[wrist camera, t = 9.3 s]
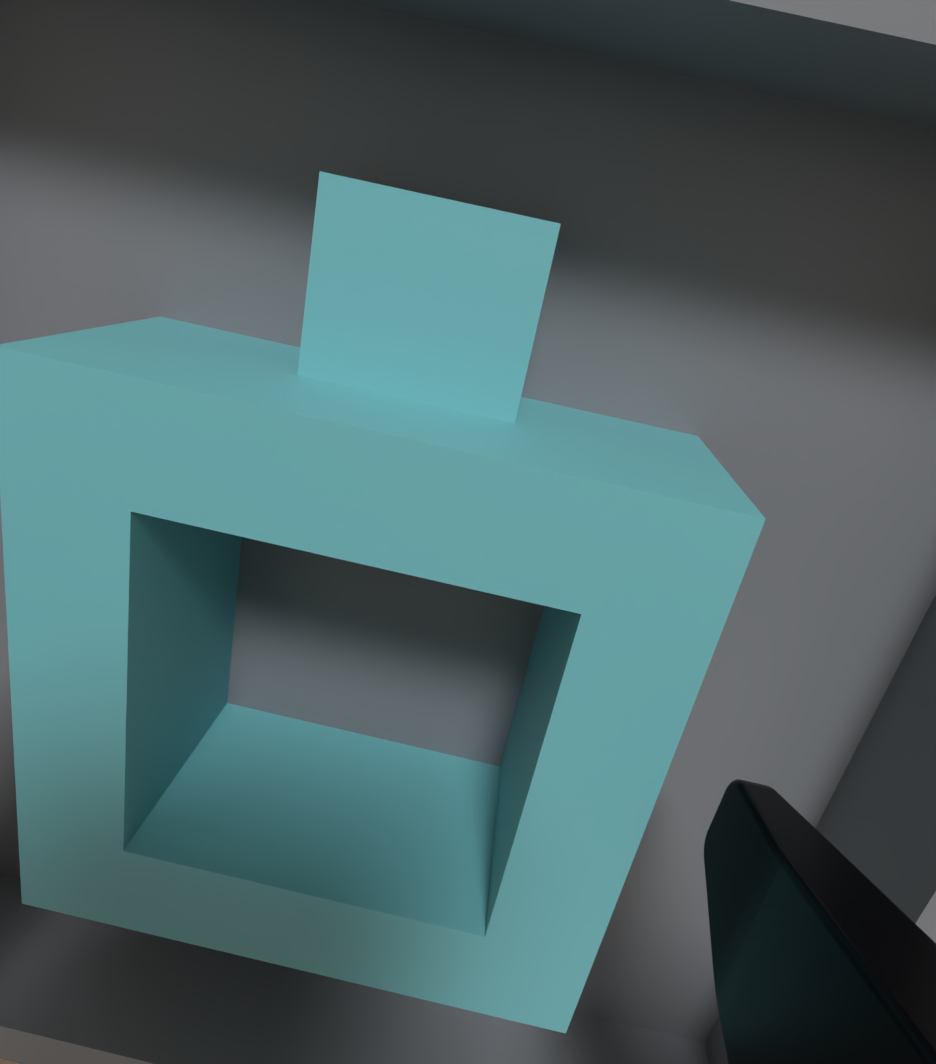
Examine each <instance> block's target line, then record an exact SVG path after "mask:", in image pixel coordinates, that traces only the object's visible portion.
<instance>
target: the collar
mask: <svg viewBox="0 0 936 1064" xmlns="http://www.w3.org/2000/svg"><path fill="white" fill-rule="evenodd" d="M560 225H561V224H560V223H555V222H551V221H546V220H542V219H537V218H532V217H528V216H523V215H519V214H514V213H509V212H505V211H500V210H496V209H491V208H486V207H482V206H477V205H473V204H468V203H463V202H459V201H454V200H450V199H445V198H440V197H436V196H431V195H427V194H422V193H417V192H413V191H408V190H404V189H399V188H394V187H390V186H385V185H381V184H376V183H372V182H367V181H362V180H358V179H353V178H349V177H344V176H339V175H335V174H330V173H326V172H321V171H320V172H319V181H318V190H317V199H316V208H315V217H314V227H313V236H312V245H311V254H310V263H309V272H308V282H307V291H306V300H305V309H304V318H303V327H302V337H301V346H300V347H295V346H291V345H286V344H282V343H277V342H273V341H268V340H264V339H259V338H255V337H250V336H246V335H241V334H237V333H232V332H228V331H223V330H219V329H214V328H210V327H205V326H201V325H196V324H192V323H187V322H183V321H178V320H174V319H169V318H165V317H154V318H148V319H143V320H137V321H131V322H125V323H120V324H114V325H108V326H102V327H97V328H91V329H85V330H79V331H74V332H68V333H62V334H56V335H50V336H45V337H39V338H33V339H27V340H22V341H16V342H10V343H4V344H0V499H1V518H2V537H3V556H4V575H5V594H6V613H7V632H8V651H9V670H10V689H11V708H12V727H13V746H14V765H15V784H16V803H17V822H18V841H19V860H20V879H21V898H22V904H26V905H30V906H34V907H39V908H43V909H47V910H51V911H55V912H60V913H64V914H68V915H72V916H76V917H80V918H85V919H89V920H93V921H97V922H101V923H106V924H110V925H114V926H118V927H122V928H126V929H131V930H135V931H139V932H143V933H147V934H152V935H156V936H160V937H164V938H168V939H172V940H177V941H181V942H185V943H189V944H193V945H198V946H202V947H206V948H210V949H214V950H218V951H223V952H227V953H231V954H235V955H239V956H244V957H248V958H252V959H256V960H260V961H264V962H269V963H273V964H277V965H281V966H285V967H290V968H294V969H298V970H302V971H306V972H310V973H315V974H319V975H323V976H327V977H331V978H336V979H340V980H344V981H348V982H352V983H356V984H361V985H365V986H369V987H373V988H377V989H382V990H386V991H390V992H394V993H398V994H402V995H407V996H411V997H415V998H419V999H423V1000H428V1001H432V1002H436V1003H440V1004H444V1005H448V1006H453V1007H457V1008H461V1009H465V1010H469V1011H474V1012H478V1013H482V1014H486V1015H490V1016H494V1017H499V1018H503V1019H507V1020H511V1021H515V1022H520V1023H524V1024H528V1025H532V1026H536V1027H540V1028H545V1029H549V1030H553V1031H557V1032H561V1033H566V1032H567V1029H568V1026H569V1024H570V1021H571V1019H572V1016H573V1014H574V1011H575V1008H576V1006H577V1003H578V1001H579V998H580V996H581V993H582V990H583V988H584V985H585V983H586V980H587V978H588V975H589V972H590V970H591V967H592V965H593V962H594V960H595V957H596V954H597V952H598V949H599V947H600V944H601V942H602V939H603V936H604V934H605V931H606V929H607V926H608V924H609V921H610V918H611V916H612V913H613V911H614V908H615V906H616V903H617V900H618V898H619V895H620V893H621V890H622V888H623V885H624V882H625V880H626V877H627V875H628V872H629V870H630V867H631V864H632V862H633V859H634V857H635V854H636V852H637V849H638V846H639V844H640V841H641V839H642V836H643V833H644V831H645V828H646V826H647V823H648V821H649V818H650V815H651V813H652V810H653V808H654V805H655V803H656V800H657V797H658V795H659V792H660V790H661V787H662V785H663V782H664V779H665V777H666V774H667V772H668V769H669V767H670V764H671V761H672V759H673V756H674V754H675V751H676V749H677V746H678V743H679V741H680V738H681V736H682V733H683V731H684V728H685V725H686V723H687V720H688V718H689V715H690V713H691V710H692V707H693V705H694V702H695V700H696V697H697V695H698V692H699V689H700V687H701V684H702V682H703V679H704V677H705V674H706V671H707V669H708V666H709V664H710V661H711V659H712V656H713V653H714V651H715V648H716V646H717V643H718V641H719V638H720V635H721V633H722V630H723V628H724V625H725V622H726V620H727V617H728V615H729V612H730V610H731V607H732V604H733V602H734V599H735V597H736V594H737V592H738V589H739V586H740V584H741V581H742V579H743V576H744V574H745V571H746V568H747V566H748V563H749V561H750V558H751V556H752V553H753V550H754V548H755V545H756V543H757V540H758V538H759V535H760V532H761V530H762V527H763V525H764V522H765V520H766V519H765V517H764V516H763V515H762V514H761V513H760V511H759V510H758V509H757V508H756V506H755V505H754V504H753V503H752V502H751V500H750V499H749V498H748V497H747V495H746V494H745V493H744V492H743V491H742V489H741V488H740V487H739V486H738V484H737V483H736V482H735V481H734V479H733V478H732V477H731V476H730V475H729V473H728V472H727V471H726V470H725V468H724V467H723V466H722V465H721V464H720V462H719V461H718V460H717V459H716V457H715V456H714V455H713V454H712V453H711V451H710V450H709V449H708V448H707V446H706V445H705V444H704V443H703V442H702V440H701V439H700V438H699V437H698V436H695V435H691V434H686V433H682V432H677V431H673V430H668V429H664V428H659V427H655V426H650V425H646V424H641V423H637V422H632V421H628V420H623V419H619V418H614V417H610V416H605V415H601V414H596V413H592V412H587V411H583V410H578V409H574V408H569V407H565V406H560V405H556V404H552V403H547V402H543V401H538V400H534V399H529V398H525V397H521V394H522V390H523V386H524V381H525V377H526V373H527V368H528V364H529V360H530V355H531V351H532V347H533V342H534V338H535V334H536V329H537V325H538V321H539V316H540V312H541V308H542V303H543V299H544V295H545V290H546V286H547V282H548V277H549V273H550V269H551V264H552V260H553V256H554V251H555V247H556V243H557V238H558V234H559V230H560ZM242 537H245V538H249V539H254V540H258V541H262V542H267V543H271V544H276V545H280V546H284V547H289V548H293V549H297V550H302V551H306V552H311V553H315V554H319V555H324V556H328V557H333V558H337V559H341V560H346V561H350V562H355V563H359V564H363V565H368V566H372V567H376V568H381V569H385V570H390V571H394V572H398V573H403V574H407V575H412V576H416V577H420V578H425V579H429V580H434V581H438V582H442V583H447V584H451V585H455V586H460V587H464V588H469V589H473V590H477V591H482V592H486V593H491V594H495V595H499V596H504V597H508V598H513V599H517V600H521V601H526V602H530V603H534V604H539V605H543V606H544V608H543V612H542V616H541V619H540V623H539V627H538V630H537V634H536V638H535V641H534V645H533V649H532V652H531V656H530V659H529V663H528V667H527V670H526V674H525V678H524V681H523V685H522V689H521V692H520V696H519V700H518V703H517V707H516V710H515V714H514V718H513V721H512V725H511V729H510V732H509V736H508V740H507V743H506V747H505V751H504V754H503V758H502V761H501V765H500V766H496V765H492V764H487V763H483V762H479V761H474V760H470V759H466V758H462V757H457V756H453V755H449V754H444V753H440V752H436V751H431V750H427V749H423V748H419V747H414V746H410V745H406V744H401V743H397V742H393V741H388V740H384V739H380V738H376V737H371V736H367V735H363V734H358V733H354V732H350V731H345V730H341V729H337V728H333V727H328V726H324V725H320V724H315V723H311V722H307V721H302V720H298V719H294V718H289V717H285V716H281V715H277V714H272V713H268V712H264V711H259V710H255V709H251V708H246V707H242V706H238V705H234V704H229V703H227V700H228V688H229V677H230V665H231V654H232V642H233V631H234V619H235V608H236V596H237V585H238V573H239V562H240V550H241V539H242Z"/></svg>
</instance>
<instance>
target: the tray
mask: <svg viewBox="0 0 936 1064" xmlns="http://www.w3.org/2000/svg"><path fill="white" fill-rule="evenodd" d="M320 171H321V172H326V173H330V174H335V175H339V176H344V177H349V178H353V179H358V180H362V181H367V182H372V183H376V184H381V185H385V186H390V187H394V188H399V189H404V190H408V191H413V192H417V193H422V194H427V195H431V196H436V197H440V198H445V199H450V200H454V201H459V202H463V203H468V204H473V205H477V206H482V207H486V208H491V209H496V210H500V211H505V212H509V213H514V214H519V215H523V216H528V217H532V218H537V219H542V220H546V221H551V222H555V223H560V224H561V225H560V230H559V234H558V238H557V243H556V247H555V251H554V256H553V260H552V264H551V269H550V273H549V277H548V282H547V286H546V290H545V295H544V299H543V303H542V308H541V312H540V316H539V321H538V325H537V329H536V334H535V338H534V342H533V347H532V351H531V355H530V360H529V364H528V368H527V373H526V377H525V381H524V386H523V390H522V394H521V397H525V398H529V399H534V400H538V401H543V402H547V403H552V404H556V405H560V406H565V407H569V408H574V409H578V410H583V411H587V412H592V413H596V414H601V415H605V416H610V417H614V418H619V419H623V420H628V421H632V422H637V423H641V424H646V425H650V426H655V427H659V428H664V429H668V430H673V431H677V432H682V433H686V434H691V435H695V436H698V437H699V438H700V439H701V440H702V442H703V443H704V444H705V445H706V446H707V448H708V449H709V450H710V451H711V453H712V454H713V455H714V456H715V457H716V459H717V460H718V461H719V462H720V464H721V465H722V466H723V467H724V468H725V470H726V471H727V472H728V473H729V475H730V476H731V477H732V478H733V479H734V481H735V482H736V483H737V484H738V486H739V487H740V488H741V489H742V491H743V492H744V493H745V494H746V495H747V497H748V498H749V499H750V500H751V502H752V503H753V504H754V505H755V506H756V508H757V509H758V510H759V511H760V513H761V514H762V515H763V516H764V517H765V519H766V520H765V522H764V525H763V527H762V530H761V532H760V535H759V538H758V540H757V543H756V545H755V548H754V550H753V553H752V556H751V558H750V561H749V563H748V566H747V568H746V571H745V574H744V576H743V579H742V581H741V584H740V586H739V589H738V592H737V594H736V597H735V599H734V602H733V604H732V607H731V610H730V612H729V615H728V617H727V620H726V622H725V625H724V628H723V630H722V633H721V635H720V638H719V641H718V643H717V646H716V648H715V651H714V653H713V656H712V659H711V661H710V664H709V666H708V669H707V671H706V674H705V677H704V679H703V682H702V684H701V687H700V689H699V692H698V695H697V697H696V700H695V702H694V705H693V707H692V710H691V713H690V715H689V718H688V720H687V723H686V725H685V728H684V731H683V733H682V736H681V738H680V741H679V743H678V746H677V749H676V751H675V754H674V756H673V759H672V761H671V764H670V767H669V769H668V772H667V774H666V777H665V779H664V782H663V785H662V787H661V790H660V792H659V795H658V797H657V800H656V803H655V805H654V808H653V810H652V813H651V815H650V818H649V821H648V823H647V826H646V828H645V831H644V833H643V836H642V839H641V841H640V844H639V846H638V849H637V852H636V854H635V857H634V859H633V862H632V864H631V867H630V870H629V872H628V875H627V877H626V880H625V882H624V885H623V888H622V890H621V893H620V895H619V898H618V900H617V903H616V906H615V908H614V911H613V913H612V916H611V918H610V921H609V924H608V926H607V929H606V931H605V934H604V936H603V939H602V942H601V944H600V947H599V949H598V952H597V954H596V957H595V960H594V962H593V965H592V967H591V970H590V972H589V975H588V978H587V980H586V983H585V985H584V988H583V990H582V993H581V996H580V998H579V1001H578V1003H577V1006H576V1008H575V1011H574V1014H573V1016H572V1019H571V1021H570V1024H569V1026H568V1029H567V1032H566V1033H561V1032H557V1031H553V1030H549V1029H545V1028H540V1027H536V1026H532V1025H528V1024H524V1023H520V1022H515V1021H511V1020H507V1019H503V1018H499V1017H494V1016H490V1015H486V1014H482V1013H478V1012H474V1011H469V1010H465V1009H461V1008H457V1007H453V1006H448V1005H444V1004H440V1003H436V1002H432V1001H428V1000H423V999H419V998H415V997H411V996H407V995H402V994H398V993H394V992H390V991H386V990H382V989H377V988H373V987H369V986H365V985H361V984H356V983H352V982H348V981H344V980H340V979H336V978H331V977H327V976H323V975H319V974H315V973H310V972H306V971H302V970H298V969H294V968H290V967H285V966H281V965H277V964H273V963H269V962H264V961H260V960H256V959H252V958H248V957H244V956H239V955H235V954H231V953H227V952H223V951H218V950H214V949H210V948H206V947H202V946H198V945H193V944H189V943H185V942H181V941H177V940H172V939H168V938H164V937H160V936H156V935H152V934H147V933H143V932H139V931H135V930H131V929H126V928H122V927H118V926H114V925H110V924H106V923H101V922H97V921H93V920H89V919H85V918H80V917H76V916H72V915H68V914H64V913H60V912H55V911H51V910H47V909H43V908H39V907H34V906H30V905H26V904H22V898H21V879H20V860H19V841H18V822H17V803H16V784H15V765H14V746H13V727H12V708H11V689H10V670H9V651H8V632H7V613H6V594H5V575H4V556H3V537H2V518H1V499H0V1058H2V1059H6V1060H10V1061H14V1062H18V1063H22V1064H728V1061H727V1056H726V1050H725V1045H724V1040H723V1034H722V1029H721V1024H720V1018H719V1012H718V1006H717V1000H716V993H715V983H714V974H713V963H712V951H711V939H710V926H709V914H708V902H707V890H706V878H705V866H704V843H705V838H706V834H707V831H708V829H709V827H710V824H711V822H712V820H713V817H714V815H715V813H716V811H717V808H718V806H719V804H720V801H721V799H722V797H723V795H724V792H725V790H726V788H727V786H728V785H729V784H730V783H731V782H732V781H734V780H736V779H741V780H746V781H750V782H754V783H758V784H763V785H767V786H770V787H771V788H773V789H774V790H776V791H777V792H778V793H779V794H780V795H781V796H782V797H783V798H784V799H785V800H786V801H787V802H788V803H789V804H790V805H791V806H792V807H793V808H794V809H796V810H797V811H798V812H799V813H800V814H801V815H802V816H803V817H804V818H805V819H806V820H807V821H808V822H809V823H810V824H811V825H812V826H813V827H814V828H815V829H817V830H818V831H819V832H820V833H821V834H822V835H823V836H824V837H825V838H826V839H827V840H828V841H829V842H830V843H831V844H832V845H833V846H834V847H835V848H836V849H838V850H839V851H840V852H841V853H842V854H843V855H844V856H845V857H846V858H847V859H848V860H849V861H850V862H851V863H852V864H853V865H854V866H855V867H856V868H857V869H859V870H860V871H861V872H862V873H863V874H864V875H865V876H866V877H867V878H868V879H869V880H870V881H871V882H872V883H873V884H874V885H875V886H876V887H877V888H878V889H880V890H881V891H882V892H883V893H884V894H885V895H886V896H887V897H888V898H889V899H890V900H891V901H892V902H893V903H894V904H895V905H896V906H897V907H898V908H899V909H901V910H902V911H903V912H904V913H905V914H906V915H907V916H908V917H909V918H910V919H911V920H912V921H913V922H914V923H915V924H916V925H917V926H918V927H919V928H920V929H922V930H923V931H924V932H925V933H926V934H927V935H928V936H929V937H930V938H931V939H932V940H933V941H934V942H935V943H936V0H0V344H4V343H10V342H16V341H22V340H27V339H33V338H39V337H45V336H50V335H56V334H62V333H68V332H74V331H79V330H85V329H91V328H97V327H102V326H108V325H114V324H120V323H125V322H131V321H137V320H143V319H148V318H154V317H165V318H169V319H174V320H178V321H183V322H187V323H192V324H196V325H201V326H205V327H210V328H214V329H219V330H223V331H228V332H232V333H237V334H241V335H246V336H250V337H255V338H259V339H264V340H268V341H273V342H277V343H282V344H286V345H291V346H295V347H300V346H301V337H302V327H303V318H304V309H305V300H306V291H307V282H308V272H309V263H310V254H311V245H312V236H313V227H314V217H315V208H316V199H317V190H318V181H319V172H320ZM543 608H544V606H543V605H539V604H534V603H530V602H526V601H521V600H517V599H513V598H508V597H504V596H499V595H495V594H491V593H486V592H482V591H477V590H473V589H469V588H464V587H460V586H455V585H451V584H447V583H442V582H438V581H434V580H429V579H425V578H420V577H416V576H412V575H407V574H403V573H398V572H394V571H390V570H385V569H381V568H376V567H372V566H368V565H363V564H359V563H355V562H350V561H346V560H341V559H337V558H333V557H328V556H324V555H319V554H315V553H311V552H306V551H302V550H297V549H293V548H289V547H284V546H280V545H276V544H271V543H267V542H262V541H258V540H254V539H249V538H245V537H242V539H241V550H240V562H239V573H238V585H237V596H236V608H235V619H234V631H233V642H232V654H231V665H230V677H229V688H228V700H227V703H229V704H234V705H238V706H242V707H246V708H251V709H255V710H259V711H264V712H268V713H272V714H277V715H281V716H285V717H289V718H294V719H298V720H302V721H307V722H311V723H315V724H320V725H324V726H328V727H333V728H337V729H341V730H345V731H350V732H354V733H358V734H363V735H367V736H371V737H376V738H380V739H384V740H388V741H393V742H397V743H401V744H406V745H410V746H414V747H419V748H423V749H427V750H431V751H436V752H440V753H444V754H449V755H453V756H457V757H462V758H466V759H470V760H474V761H479V762H483V763H487V764H492V765H496V766H500V765H501V761H502V758H503V754H504V751H505V747H506V743H507V740H508V736H509V732H510V729H511V725H512V721H513V718H514V714H515V710H516V707H517V703H518V700H519V696H520V692H521V689H522V685H523V681H524V678H525V674H526V670H527V667H528V663H529V659H530V656H531V652H532V649H533V645H534V641H535V638H536V634H537V630H538V627H539V623H540V619H541V616H542V612H543Z"/></svg>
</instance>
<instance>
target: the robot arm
mask: <svg viewBox="0 0 936 1064" xmlns="http://www.w3.org/2000/svg"><path fill="white" fill-rule="evenodd" d="M704 866H705V878H706V890H707V902H708V914H709V926H710V939H711V951H712V963H713V974H714V983H715V993H716V1000H717V1006H718V1012H719V1018H720V1024H721V1029H722V1034H723V1040H724V1045H725V1050H726V1056H727V1061H728V1064H936V943H935V942H934V941H933V940H932V939H931V938H930V937H929V936H928V935H927V934H926V933H925V932H924V931H923V930H922V929H920V928H919V927H918V926H917V925H916V924H915V923H914V922H913V921H912V920H911V919H910V918H909V917H908V916H907V915H906V914H905V913H904V912H903V911H902V910H901V909H899V908H898V907H897V906H896V905H895V904H894V903H893V902H892V901H891V900H890V899H889V898H888V897H887V896H886V895H885V894H884V893H883V892H882V891H881V890H880V889H878V888H877V887H876V886H875V885H874V884H873V883H872V882H871V881H870V880H869V879H868V878H867V877H866V876H865V875H864V874H863V873H862V872H861V871H860V870H859V869H857V868H856V867H855V866H854V865H853V864H852V863H851V862H850V861H849V860H848V859H847V858H846V857H845V856H844V855H843V854H842V853H841V852H840V851H839V850H838V849H836V848H835V847H834V846H833V845H832V844H831V843H830V842H829V841H828V840H827V839H826V838H825V837H824V836H823V835H822V834H821V833H820V832H819V831H818V830H817V829H815V828H814V827H813V826H812V825H811V824H810V823H809V822H808V821H807V820H806V819H805V818H804V817H803V816H802V815H801V814H800V813H799V812H798V811H797V810H796V809H794V808H793V807H792V806H791V805H790V804H789V803H788V802H787V801H786V800H785V799H784V798H783V797H782V796H781V795H780V794H779V793H778V792H777V791H776V790H774V789H773V788H771V787H770V786H767V785H763V784H758V783H754V782H750V781H746V780H741V779H736V780H734V781H732V782H731V783H730V784H729V785H728V786H727V788H726V790H725V792H724V795H723V797H722V799H721V801H720V804H719V806H718V808H717V811H716V813H715V815H714V817H713V820H712V822H711V824H710V827H709V829H708V831H707V834H706V838H705V843H704Z"/></svg>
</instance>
